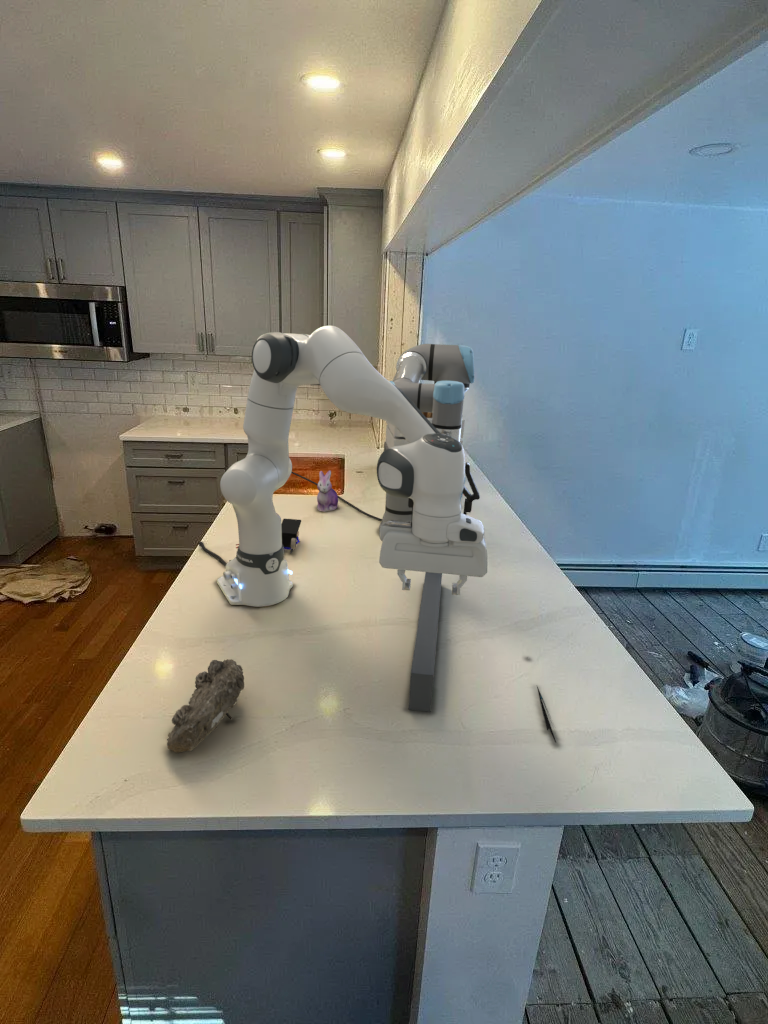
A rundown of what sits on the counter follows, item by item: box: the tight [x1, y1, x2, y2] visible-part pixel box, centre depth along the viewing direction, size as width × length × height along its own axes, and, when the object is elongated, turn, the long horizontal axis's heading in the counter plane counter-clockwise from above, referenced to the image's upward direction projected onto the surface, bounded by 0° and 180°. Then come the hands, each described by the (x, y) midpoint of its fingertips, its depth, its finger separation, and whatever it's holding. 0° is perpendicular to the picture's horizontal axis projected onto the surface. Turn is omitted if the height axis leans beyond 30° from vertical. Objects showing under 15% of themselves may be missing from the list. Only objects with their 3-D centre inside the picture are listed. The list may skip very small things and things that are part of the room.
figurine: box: [316, 469, 339, 512], centre depth 219 cm, size 9×10×15 cm
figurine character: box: [281, 518, 302, 554], centre depth 184 cm, size 7×8×15 cm
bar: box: [407, 572, 443, 713], centre depth 136 cm, size 55×4×9 cm, turn 173°
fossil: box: [166, 658, 245, 754], centre depth 106 cm, size 22×10×15 cm
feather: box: [527, 657, 557, 743], centre depth 118 cm, size 2×28×2 cm
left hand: (430, 591), depth 109 cm, fingers open, 8 cm apart
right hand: (438, 521), depth 152 cm, fingers open, 13 cm apart
